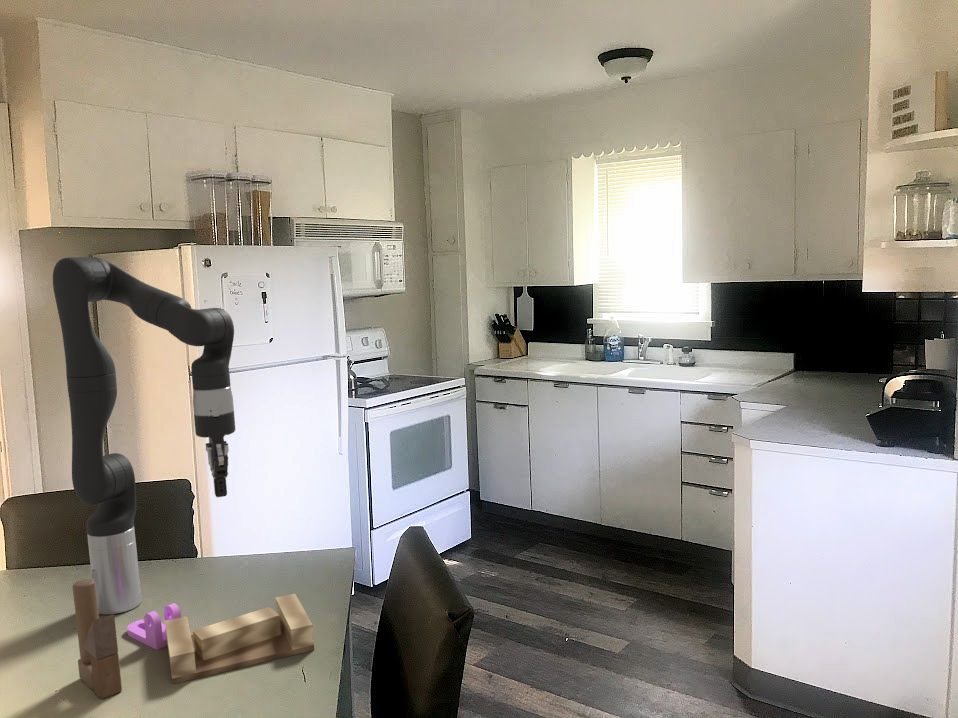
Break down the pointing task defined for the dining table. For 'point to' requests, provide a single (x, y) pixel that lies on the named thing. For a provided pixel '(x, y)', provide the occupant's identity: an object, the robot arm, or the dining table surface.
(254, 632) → the oak plank
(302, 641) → the brown wooden cradle
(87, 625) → the wooden block
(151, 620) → the bracket
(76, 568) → the dining table surface
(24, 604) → the dining table surface
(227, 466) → the robot arm
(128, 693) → the dining table surface
